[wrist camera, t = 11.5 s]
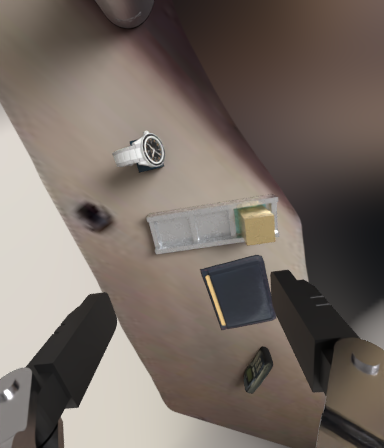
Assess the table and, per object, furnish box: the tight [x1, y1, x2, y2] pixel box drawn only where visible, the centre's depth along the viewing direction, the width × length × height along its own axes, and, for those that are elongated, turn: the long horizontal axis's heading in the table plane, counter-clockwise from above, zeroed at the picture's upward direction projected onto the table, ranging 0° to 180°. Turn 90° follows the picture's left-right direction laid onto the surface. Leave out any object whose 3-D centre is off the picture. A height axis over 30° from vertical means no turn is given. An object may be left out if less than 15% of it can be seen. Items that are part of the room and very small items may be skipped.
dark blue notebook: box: [200, 255, 276, 330], centre depth 49 cm, size 20×2×15 cm
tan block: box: [237, 205, 275, 246], centre depth 38 cm, size 5×5×7 cm
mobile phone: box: [244, 347, 273, 394], centre depth 55 cm, size 5×3×15 cm
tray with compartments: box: [147, 194, 279, 254], centre depth 42 cm, size 8×26×3 cm, turn 100°
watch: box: [113, 131, 165, 173], centre depth 34 cm, size 6×8×11 cm
